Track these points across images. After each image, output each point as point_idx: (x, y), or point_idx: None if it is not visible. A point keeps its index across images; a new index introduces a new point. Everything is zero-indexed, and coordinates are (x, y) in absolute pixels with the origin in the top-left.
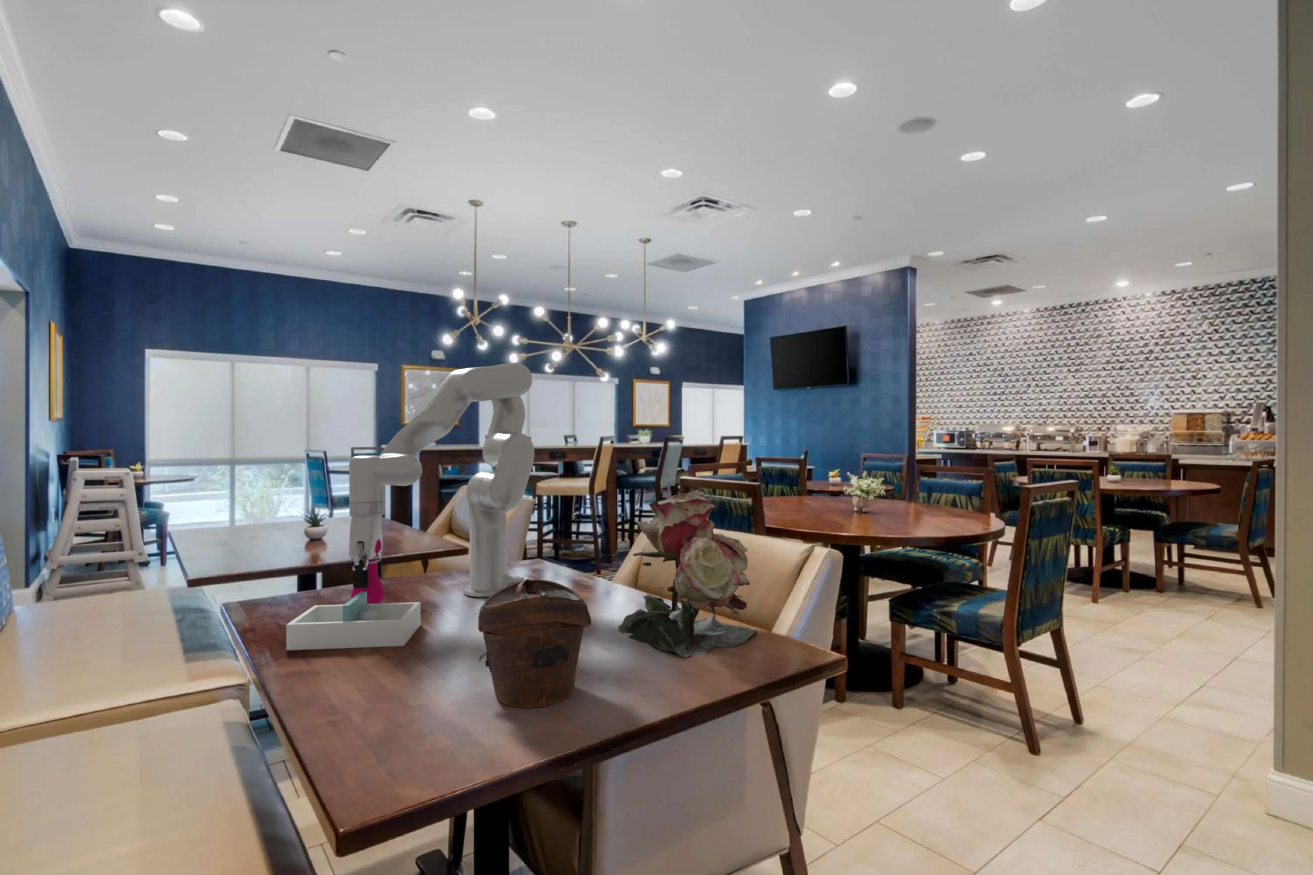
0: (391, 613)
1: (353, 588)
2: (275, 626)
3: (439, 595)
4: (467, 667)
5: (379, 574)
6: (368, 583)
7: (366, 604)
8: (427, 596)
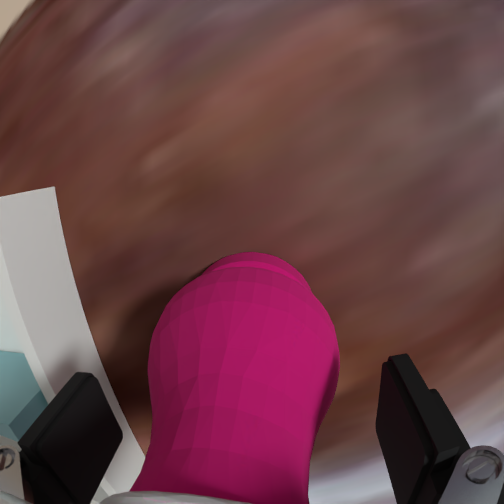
0: None
1: (174, 325)
2: (82, 25)
3: (472, 425)
4: None
5: (379, 441)
6: (111, 449)
7: (41, 411)
8: (475, 402)
